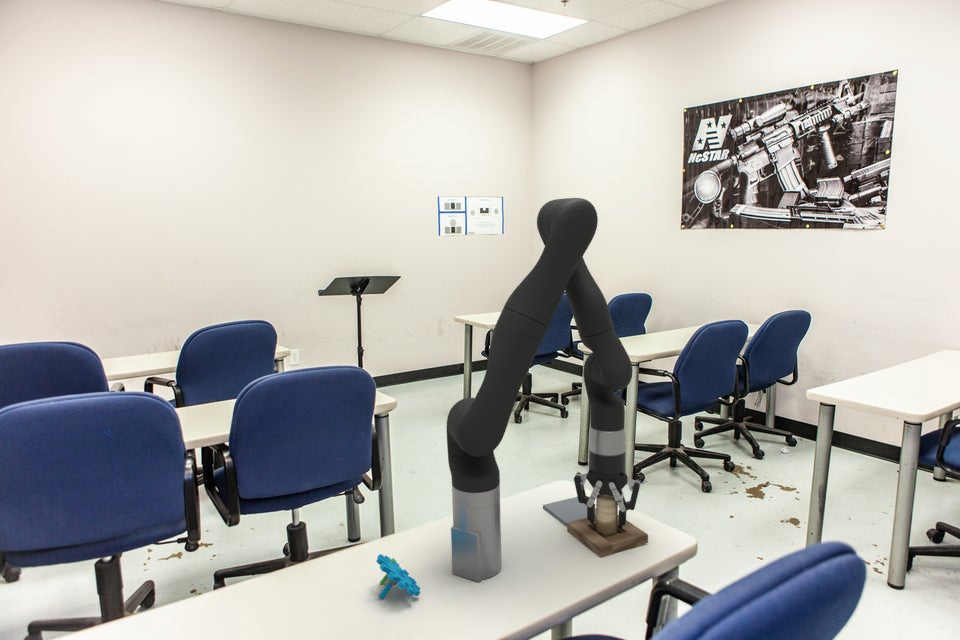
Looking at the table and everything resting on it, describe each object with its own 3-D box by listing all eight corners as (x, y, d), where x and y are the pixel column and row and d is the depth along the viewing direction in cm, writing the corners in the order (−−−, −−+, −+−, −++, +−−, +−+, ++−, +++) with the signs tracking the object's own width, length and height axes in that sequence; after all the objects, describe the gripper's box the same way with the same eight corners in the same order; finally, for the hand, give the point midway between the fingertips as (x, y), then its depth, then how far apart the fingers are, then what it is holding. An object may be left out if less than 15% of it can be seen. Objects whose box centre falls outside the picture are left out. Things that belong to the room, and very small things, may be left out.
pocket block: (647, 543, 124) (648, 534, 124) (600, 557, 119) (600, 548, 119) (612, 519, 135) (612, 510, 135) (567, 531, 130) (567, 522, 130)
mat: (603, 516, 137) (603, 513, 136) (566, 526, 132) (566, 522, 132) (578, 499, 146) (578, 496, 146) (542, 508, 142) (542, 504, 141)
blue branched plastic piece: (427, 598, 105) (383, 564, 103) (404, 626, 104) (360, 593, 102) (417, 573, 115) (378, 542, 114) (397, 598, 114) (357, 567, 113)
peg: (613, 544, 124) (613, 503, 123) (593, 539, 127) (593, 499, 125) (620, 535, 128) (620, 495, 127) (600, 530, 130) (600, 491, 129)
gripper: (569, 450, 123) (569, 527, 126) (641, 457, 119) (639, 537, 121) (576, 438, 130) (576, 511, 133) (644, 444, 125) (643, 521, 128)
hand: (606, 523), depth 127 cm, fingers open, 5 cm apart
